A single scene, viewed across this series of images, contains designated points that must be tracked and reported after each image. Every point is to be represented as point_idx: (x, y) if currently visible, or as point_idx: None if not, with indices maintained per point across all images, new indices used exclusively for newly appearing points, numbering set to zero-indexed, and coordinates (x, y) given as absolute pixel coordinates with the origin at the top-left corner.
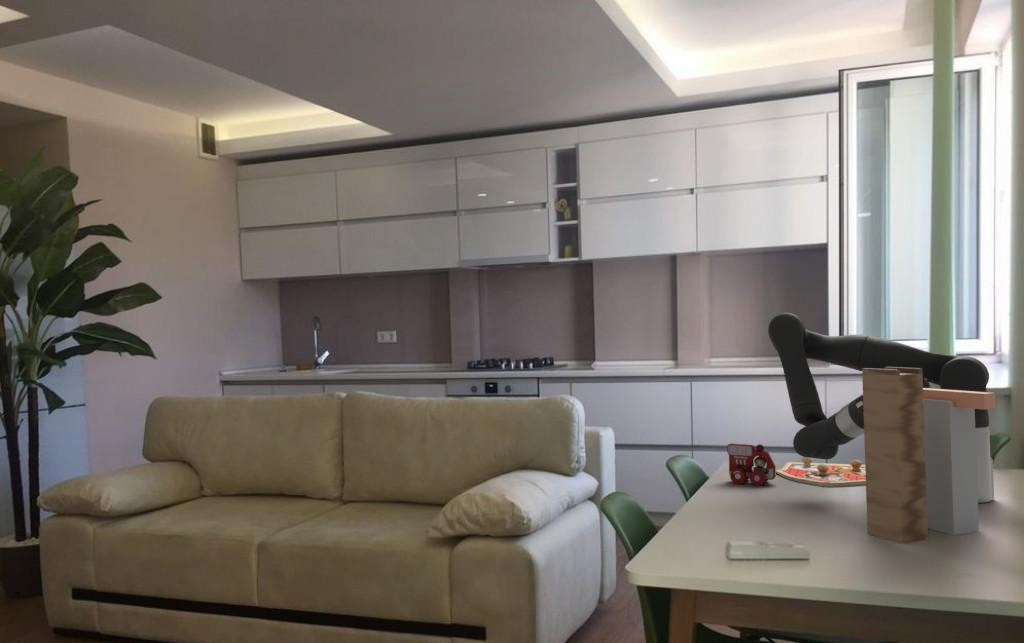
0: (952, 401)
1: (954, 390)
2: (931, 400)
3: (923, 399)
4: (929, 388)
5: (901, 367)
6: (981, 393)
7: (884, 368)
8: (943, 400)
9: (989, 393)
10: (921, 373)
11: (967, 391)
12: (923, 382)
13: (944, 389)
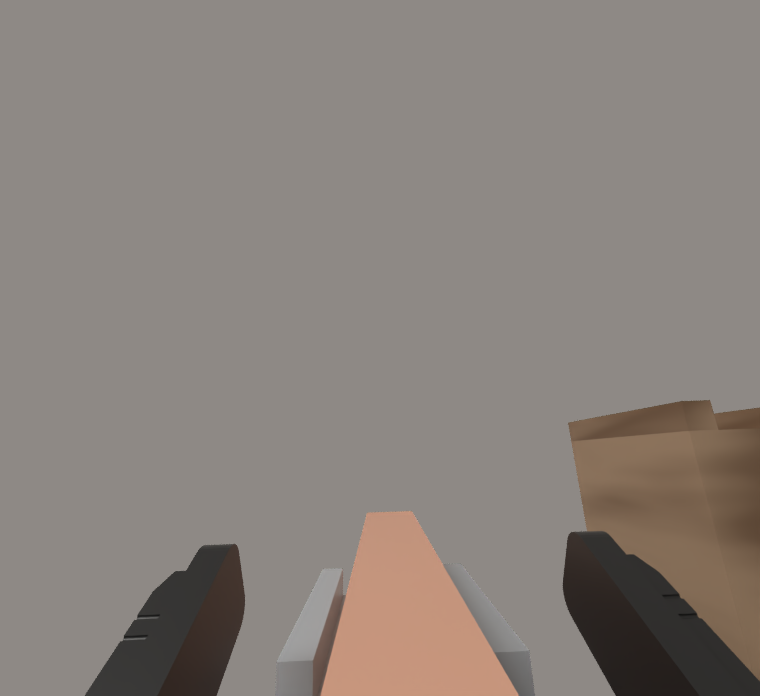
0: (445, 564)
1: (378, 535)
2: (482, 592)
3: (495, 608)
4: (361, 575)
5: (623, 412)
6: (408, 512)
7: (711, 408)
8: (451, 576)
9: (389, 512)
10: (575, 441)
11: (381, 524)
12: (231, 583)
13: (364, 549)
